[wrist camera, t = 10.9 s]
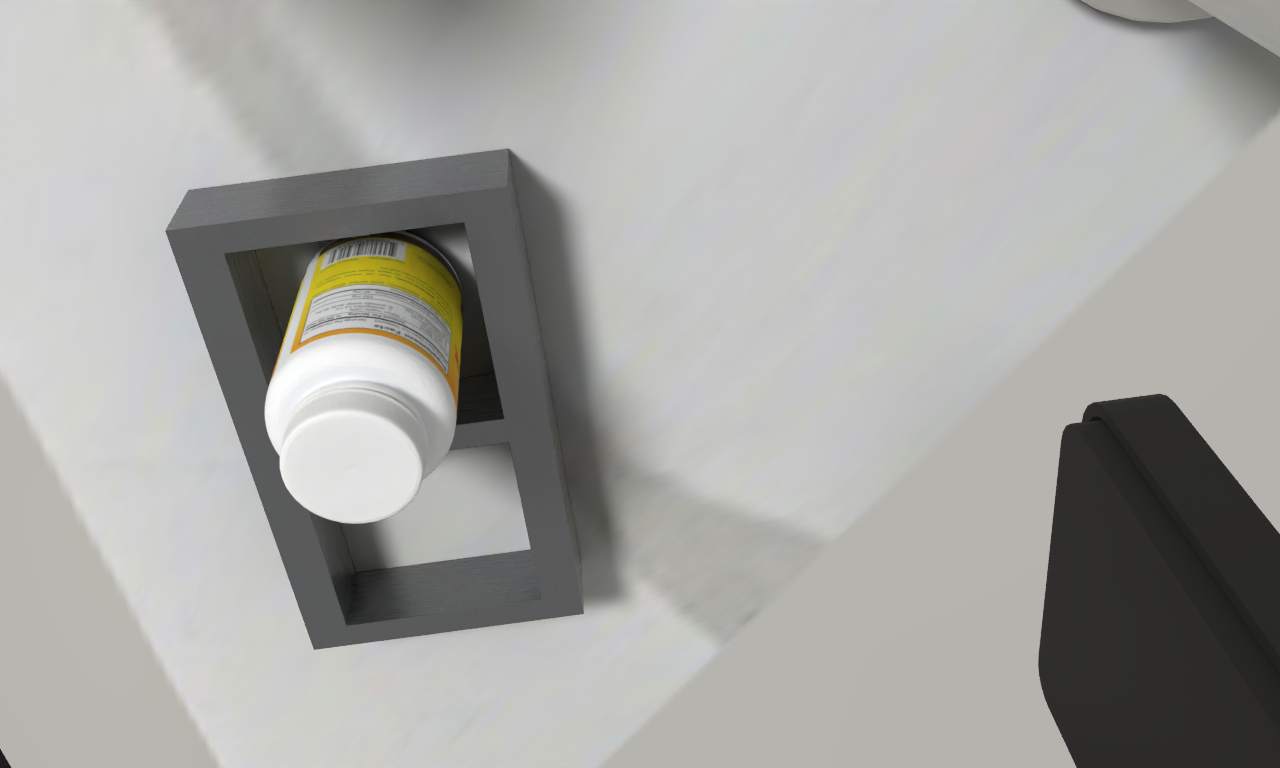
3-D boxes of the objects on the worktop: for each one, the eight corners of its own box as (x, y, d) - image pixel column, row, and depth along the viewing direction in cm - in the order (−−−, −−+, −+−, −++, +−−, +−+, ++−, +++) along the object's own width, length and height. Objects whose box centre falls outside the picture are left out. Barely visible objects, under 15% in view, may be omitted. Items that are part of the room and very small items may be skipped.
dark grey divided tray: (188, 190, 40) (165, 230, 37) (508, 148, 40) (506, 186, 37) (324, 596, 50) (314, 649, 47) (580, 562, 50) (583, 613, 47)
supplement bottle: (393, 387, 44) (362, 577, 36) (269, 293, 42) (204, 473, 33) (499, 292, 43) (493, 468, 34) (377, 187, 40) (337, 350, 32)
